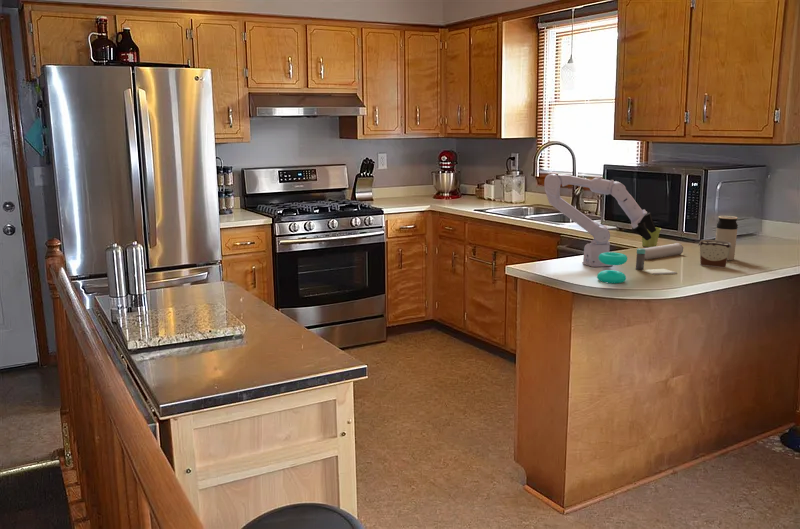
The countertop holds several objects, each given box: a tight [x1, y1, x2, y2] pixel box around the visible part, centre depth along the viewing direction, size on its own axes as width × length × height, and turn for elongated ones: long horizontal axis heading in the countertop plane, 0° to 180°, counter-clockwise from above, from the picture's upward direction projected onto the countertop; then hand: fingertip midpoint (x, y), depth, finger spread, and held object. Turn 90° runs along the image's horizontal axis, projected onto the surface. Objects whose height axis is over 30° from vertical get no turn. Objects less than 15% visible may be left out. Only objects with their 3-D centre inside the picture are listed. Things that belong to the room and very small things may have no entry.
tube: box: [641, 242, 684, 261], centre depth 307 cm, size 5×5×25 cm
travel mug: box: [714, 215, 738, 261], centre depth 302 cm, size 8×8×18 cm
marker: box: [635, 248, 646, 271], centre depth 279 cm, size 3×3×8 cm
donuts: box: [596, 251, 628, 284], centre depth 257 cm, size 10×10×10 cm
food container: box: [698, 239, 732, 269], centre depth 289 cm, size 12×6×10 cm, turn 59°
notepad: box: [641, 268, 678, 276], centre depth 274 cm, size 10×8×1 cm
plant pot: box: [641, 226, 662, 248], centre depth 332 cm, size 9×9×9 cm
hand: (651, 235), depth 282 cm, fingers open, 7 cm apart
